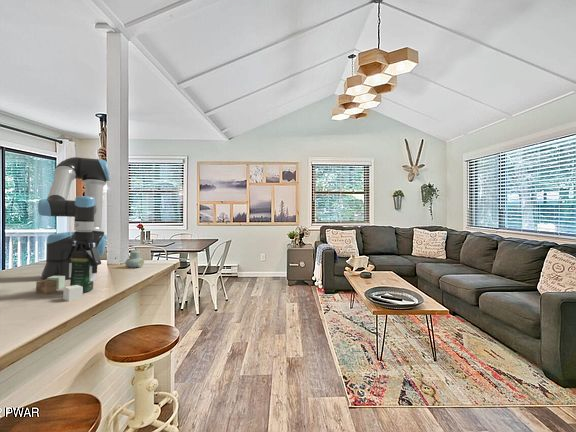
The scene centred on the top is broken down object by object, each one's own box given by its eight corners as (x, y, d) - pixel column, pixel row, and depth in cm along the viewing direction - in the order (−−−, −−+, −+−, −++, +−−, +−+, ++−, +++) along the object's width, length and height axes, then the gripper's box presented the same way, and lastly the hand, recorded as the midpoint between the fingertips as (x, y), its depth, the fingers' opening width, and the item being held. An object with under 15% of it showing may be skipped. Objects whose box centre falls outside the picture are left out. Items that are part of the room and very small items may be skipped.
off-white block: (63, 299, 134) (63, 286, 133) (76, 296, 138) (77, 284, 138) (68, 301, 131) (69, 288, 131) (82, 299, 135) (82, 286, 135)
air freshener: (133, 265, 215) (133, 250, 215) (145, 266, 214) (146, 250, 214) (123, 268, 204) (123, 252, 204) (136, 269, 204) (136, 252, 203)
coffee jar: (86, 293, 143) (88, 250, 143) (66, 293, 142) (68, 250, 141) (96, 288, 152) (97, 248, 152) (77, 288, 151) (79, 247, 151)
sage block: (46, 289, 148) (47, 277, 148) (53, 286, 153) (53, 275, 153) (58, 289, 149) (58, 278, 149) (64, 286, 154) (65, 275, 154)
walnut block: (36, 293, 141) (36, 281, 141) (46, 290, 146) (46, 279, 146) (46, 294, 140) (46, 282, 140) (56, 291, 145) (56, 280, 145)
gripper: (57, 229, 148) (55, 277, 148) (95, 233, 138) (93, 283, 138) (73, 229, 155) (72, 274, 155) (111, 232, 145) (109, 280, 145)
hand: (82, 278), depth 147 cm, fingers open, 13 cm apart
